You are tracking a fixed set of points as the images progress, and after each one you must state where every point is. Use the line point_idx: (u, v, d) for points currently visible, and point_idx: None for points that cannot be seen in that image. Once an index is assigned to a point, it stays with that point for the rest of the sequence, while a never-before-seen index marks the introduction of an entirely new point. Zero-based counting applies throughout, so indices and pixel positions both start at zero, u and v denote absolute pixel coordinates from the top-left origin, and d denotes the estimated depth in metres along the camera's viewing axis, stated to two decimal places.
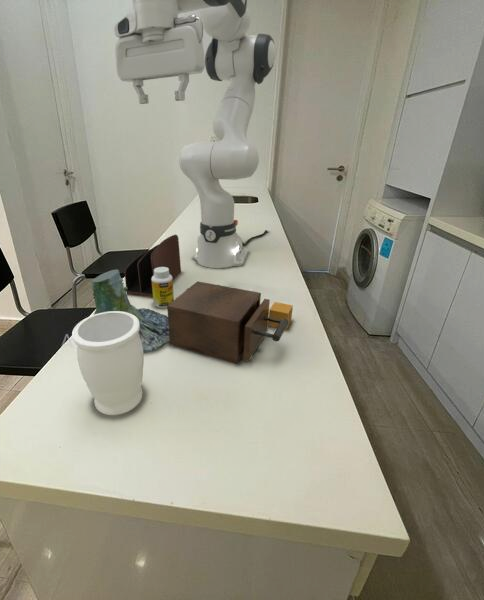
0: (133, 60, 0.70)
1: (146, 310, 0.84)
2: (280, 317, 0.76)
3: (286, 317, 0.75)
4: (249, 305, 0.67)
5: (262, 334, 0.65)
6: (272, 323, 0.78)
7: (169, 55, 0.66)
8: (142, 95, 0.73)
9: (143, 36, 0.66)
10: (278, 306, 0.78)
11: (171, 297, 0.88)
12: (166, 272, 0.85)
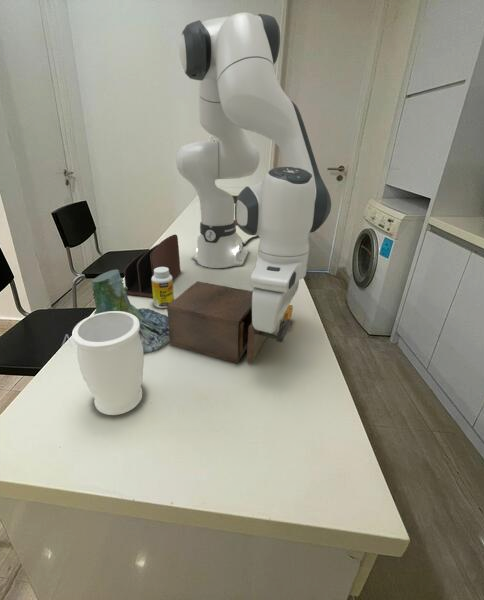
0: (281, 306, 0.58)
1: (146, 310, 0.84)
2: None
3: (286, 317, 0.75)
4: (249, 305, 0.67)
5: (266, 335, 0.64)
6: None
7: (293, 288, 0.65)
8: (280, 323, 0.65)
9: None
10: None
11: (171, 297, 0.88)
12: (166, 272, 0.85)
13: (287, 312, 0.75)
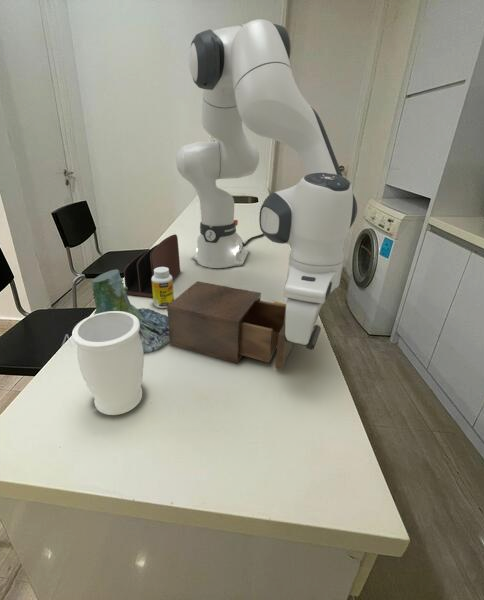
0: None
1: (146, 310, 0.84)
2: None
3: None
4: (249, 305, 0.67)
5: None
6: None
7: None
8: None
9: None
10: None
11: (171, 297, 0.88)
12: (166, 272, 0.85)
13: None
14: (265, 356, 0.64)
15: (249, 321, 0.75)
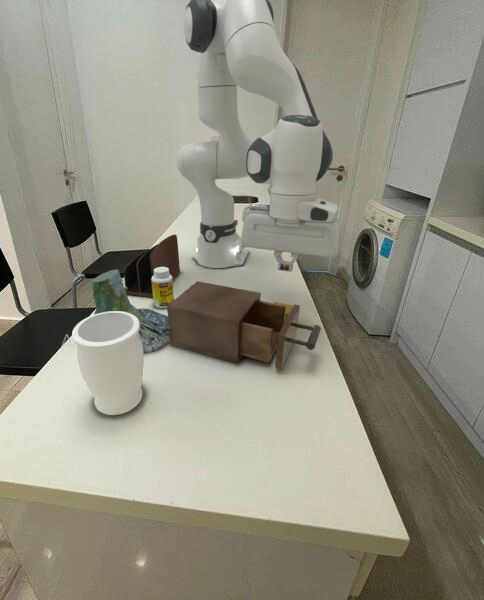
0: None
1: (146, 310, 0.84)
2: None
3: (286, 317, 0.75)
4: (249, 305, 0.67)
5: (295, 342, 0.62)
6: None
7: None
8: None
9: None
10: None
11: (171, 297, 0.88)
12: (166, 272, 0.85)
13: (287, 312, 0.75)
14: (265, 356, 0.64)
15: (249, 321, 0.75)
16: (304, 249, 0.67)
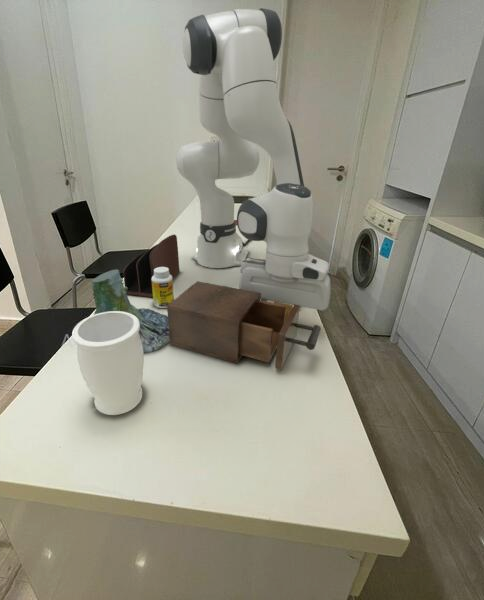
0: None
1: (146, 310, 0.84)
2: None
3: (286, 317, 0.75)
4: (249, 305, 0.67)
5: (295, 342, 0.62)
6: None
7: None
8: None
9: None
10: None
11: (171, 297, 0.88)
12: (166, 272, 0.85)
13: (287, 312, 0.75)
14: (265, 356, 0.64)
15: (249, 321, 0.75)
16: (297, 301, 0.73)
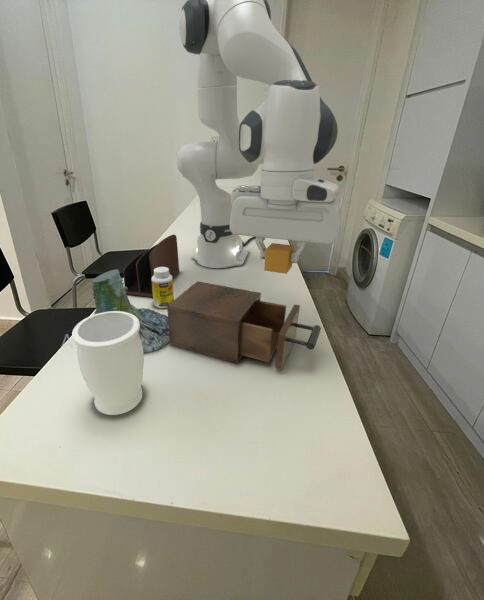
0: None
1: (146, 310, 0.84)
2: (279, 258, 0.63)
3: (286, 257, 0.62)
4: (249, 305, 0.67)
5: (295, 342, 0.62)
6: (269, 266, 0.64)
7: None
8: None
9: None
10: (276, 246, 0.64)
11: (171, 297, 0.88)
12: (166, 272, 0.85)
13: (287, 251, 0.62)
14: (265, 356, 0.64)
15: (249, 321, 0.75)
16: (300, 235, 0.59)
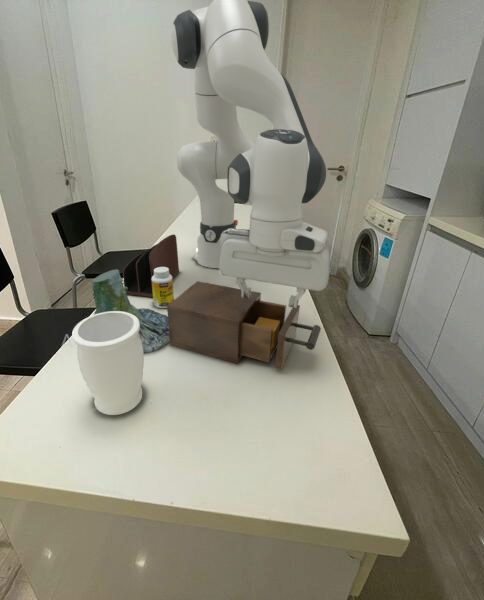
0: None
1: (146, 310, 0.84)
2: None
3: (272, 335, 0.65)
4: (249, 305, 0.67)
5: (295, 342, 0.62)
6: None
7: None
8: None
9: None
10: (263, 322, 0.68)
11: (171, 297, 0.88)
12: (166, 272, 0.85)
13: (273, 330, 0.65)
14: (265, 356, 0.64)
15: (249, 321, 0.75)
16: (289, 280, 0.59)
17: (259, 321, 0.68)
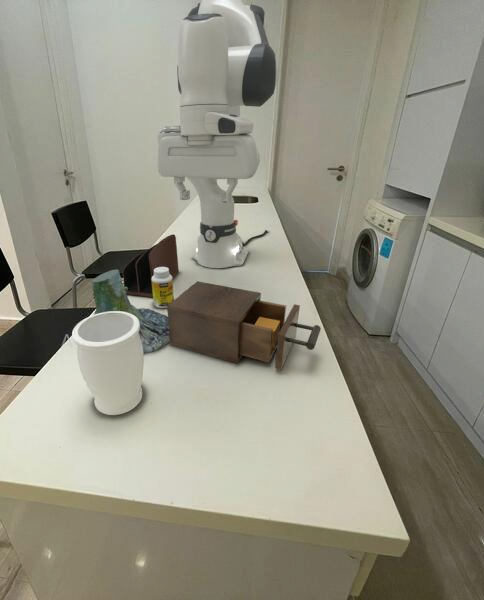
0: None
1: (146, 310, 0.84)
2: None
3: (272, 335, 0.65)
4: (249, 305, 0.67)
5: (295, 342, 0.62)
6: None
7: None
8: None
9: None
10: (263, 322, 0.68)
11: (171, 297, 0.88)
12: (166, 272, 0.85)
13: (273, 330, 0.65)
14: (265, 356, 0.64)
15: (249, 321, 0.75)
16: (218, 171, 0.62)
17: (259, 321, 0.68)
